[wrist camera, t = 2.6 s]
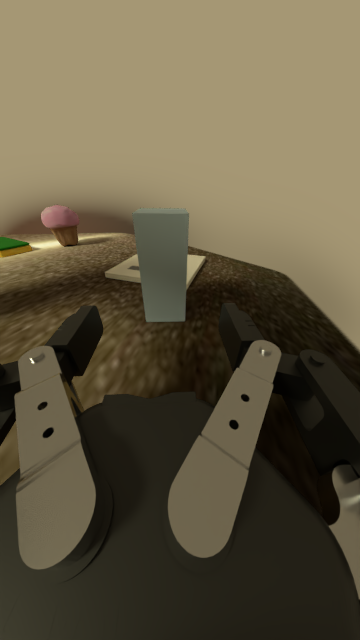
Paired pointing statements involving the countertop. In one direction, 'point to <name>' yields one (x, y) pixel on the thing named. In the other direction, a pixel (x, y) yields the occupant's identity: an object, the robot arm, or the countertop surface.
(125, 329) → the countertop surface
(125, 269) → the board
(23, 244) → the dish sponge
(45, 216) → the cupcake
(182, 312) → the grey rectangular block
